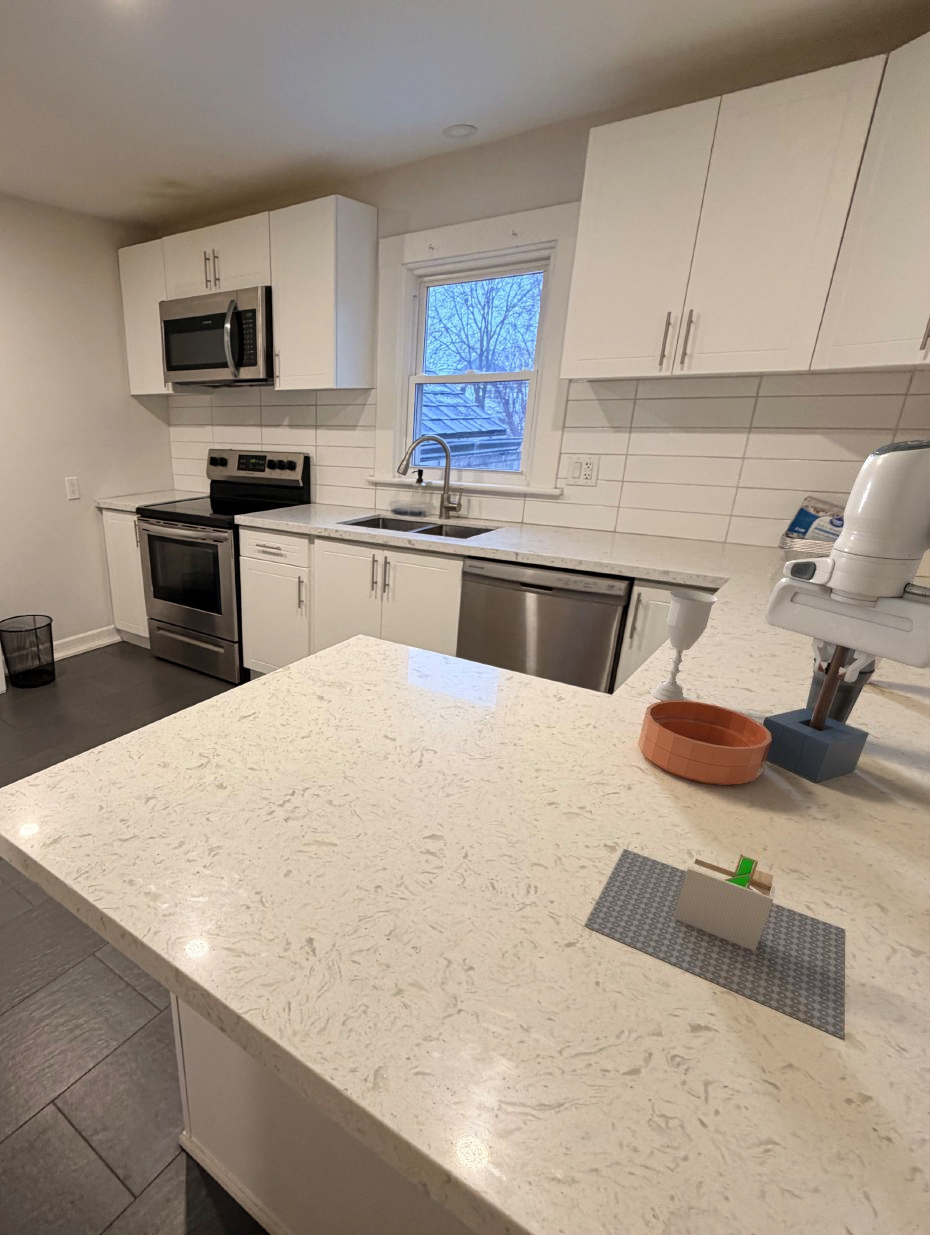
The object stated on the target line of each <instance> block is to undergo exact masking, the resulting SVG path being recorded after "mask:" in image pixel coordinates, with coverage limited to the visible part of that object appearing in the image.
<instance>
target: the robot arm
mask: <svg viewBox="0 0 930 1235" xmlns="http://www.w3.org/2000/svg"><path fill="white" fill-rule="evenodd" d="M843 511H844V512H843V527H842V530H841V532H840V534H839V536H838V538H837V539H836V540H835V542H834V544H833V545H832V549H831V552H830V554H828V555H818V556H815V557H808V558H807V557H806V558H800V559H799V558H798V559H793V560H789V561H787V562H785V564H784V567H783V572H782V573H783V575H784V576H785V577H783V578H782V579H780V580H779V581H777V583H776V585H775V586H774V587H773V590H772V593H771V595H770V598H769V600H768V602H767V603H768V604H767V606H766V609H765V613H764V617H765V619H766V622H767V624H768V625H769V626H773V627H776V628H778V629H782V630H787V631H789V632H794V633H796V634H800V635H803V636H806V637H810V638H813V639H812V642H811V648H812V652H813V655H814V658H816V659H817V660H816V663H815V666H814V665H813V666H814V669H813V668H812V671H813V670H814V671H816V672H819V673H822V674H825V675H826V674H827V672H828V669H829V666H830V663H831V659H830V657H829V652H828V648H827V647H828V646H832V644H833V643H834V644H837V645H841V646H844V647H847V648H851V649H854V650H856V651H855V654H854V658H857V659H858V660H857V661H855V662H854V663H853V664H852V665H850V666H849V665H847V666H842V667H840V668H839V674H837V679H840V680H843V681H846V682H849V683H850V682H854V681H855V680H856V679H857V676H858V673H859V671H860V669H862V668H863V667H865V666H866V665H867V664H869V663H870V662H872V661H873V660H874V659H875V657H876V656H878V657H882V658H883V659H886V660H888V661H893V662H895V663H898V664H901V665H902V664H903V665H906V666H909V667H912V668H915V669H922V670H923V669H930V587H927V586H923V585H919V584H915V582H914V581H915V579H916V577H917V573H918V571H919V569H920V566H921V563H922V561H923V557H924V555H925V554H926V552H927V551H928V550H929V549H930V438H929V439H915V440H914V439H913V440H906V441H899V442H893V443H888V444H885V445H883V446H881V447H878V448H877V449H875V450H873V452H871V453H870V454H869V455H868V457H867V458H866V459H865V461H864V463H863V464H862V466H861V468H860V470H859V471H858V474H857V476H856V479H855V481H854V484H853V486H852V489H851V491H850V494H849V496H848V500H847V502H846V505H845V508H844V510H843Z"/></svg>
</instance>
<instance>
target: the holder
mask: <svg viewBox="0 0 930 1235" xmlns="http://www.w3.org/2000/svg"><path fill="white" fill-rule="evenodd" d="M813 713H814V712H813V711H810V710H807V709H806V707H803V708H797V709H795V710H789V711H786V712H782V713H777V714H773V715H768V716H765V717H764V720H763V723H762V725H764V726H765V727H766V728H767V729H768V731H769V732H770V733H771V737H772V742H771V745H770V748H769V751H768V754H767V757H766V760H765V761H767V762H769V763H771V764H774V765H776V766H778V767H780V768H782V769H784V770H787V771H789V772H791V773H793V774H794V775H797V776H799V777H801V778H803V779H805V780H807V781H809V782H812V783H814V784H817V783H820V782H824V781H827V780H830V779H833V778H837V777H840V776H843V775H846V774H850V773H854V772H855V771H856V769H857V765H858V762H859V760H860V757H861V755H862V752H863V749H864V747H865V744H866V741H867V740H868V736H869V734H870V733H869V732H868V731H864V730H862V729H860V728H856V727H854V726H851V725H850V724H849V725H848V724H846V723H845V724H844V723H841V722H838V721H836V720H833V719H831V718H828V717H827V720H826V722H825V725H824V728H823V731H818V730H816V729H813V728H811V727H809V725H810V722H811V719H812V716H813Z"/></svg>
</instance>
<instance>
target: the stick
mask: <svg viewBox="0 0 930 1235" xmlns="http://www.w3.org/2000/svg"><path fill="white" fill-rule="evenodd" d="M850 651H851V648H847V647H844V646H841V645H836V648H835V651H834V654H833V657H832V660H831V663H830V666H829V669H828V672H827V675H826V678H825V680H824V683H823V686H822V689H821V692H820V695H819V698H818V701H817V704H816V707H815V710H814V713H813V716H812V719H811V722H810V725H809V727H811V728H813V729H816V730H818V731H823V728H824V725H825V722H826V720H827V717H828V714H829V711H830V708H831V705H832V702H833V700H834V697H835V694H836V691H837V688H838V685H839V682H840V679H837V674H839V668H840V667H842V666H845V665H846V662H847V660H848V657H849V654H850Z"/></svg>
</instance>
